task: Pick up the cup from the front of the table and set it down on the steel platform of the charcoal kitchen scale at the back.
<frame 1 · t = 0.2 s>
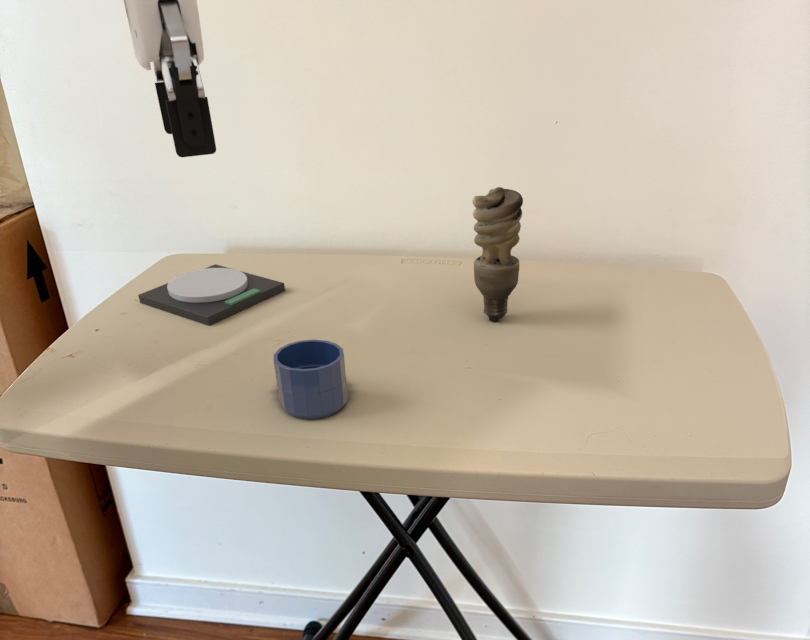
hand: (189, 142, 65), 24 cm above the table, tool pointing down, fingers open, 9 cm apart
scale: (215, 307, 98), on the table
light bulb: (492, 320, 92), on the table
cup: (314, 404, 77), on the table
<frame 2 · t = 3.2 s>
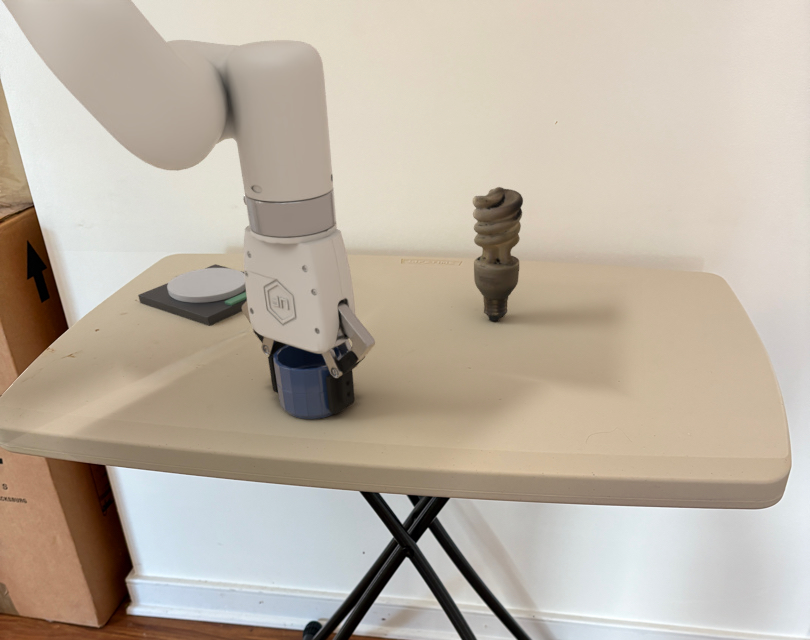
hand: (313, 396, 76), 1 cm above the table, tool pointing down, fingers closed on cup, 6 cm apart
cup: (314, 404, 77), on the table, touching gripper
everything else where it was.
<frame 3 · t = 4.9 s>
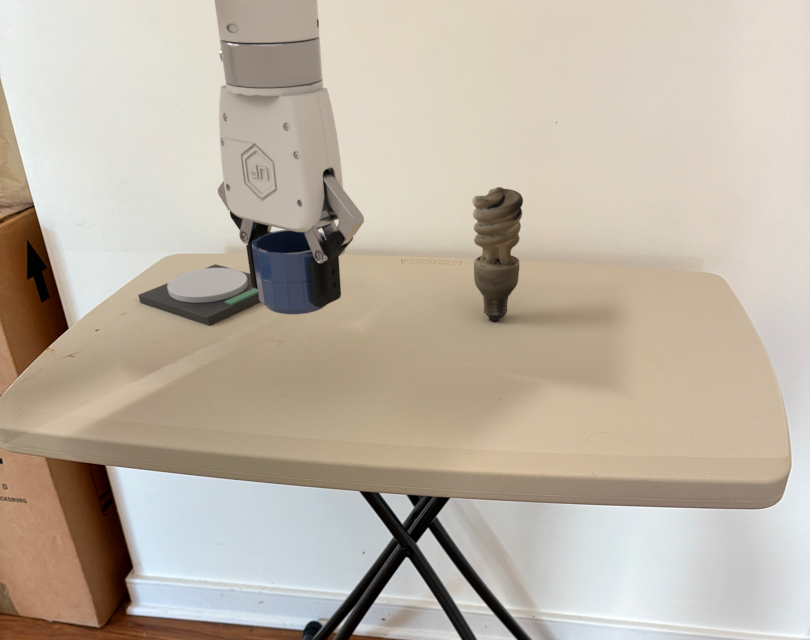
hand: (296, 291, 70), 12 cm above the table, tool pointing down, fingers closed on cup, 6 cm apart
cup: (297, 302, 70), point 11 cm above the table, touching gripper
everything else where it was.
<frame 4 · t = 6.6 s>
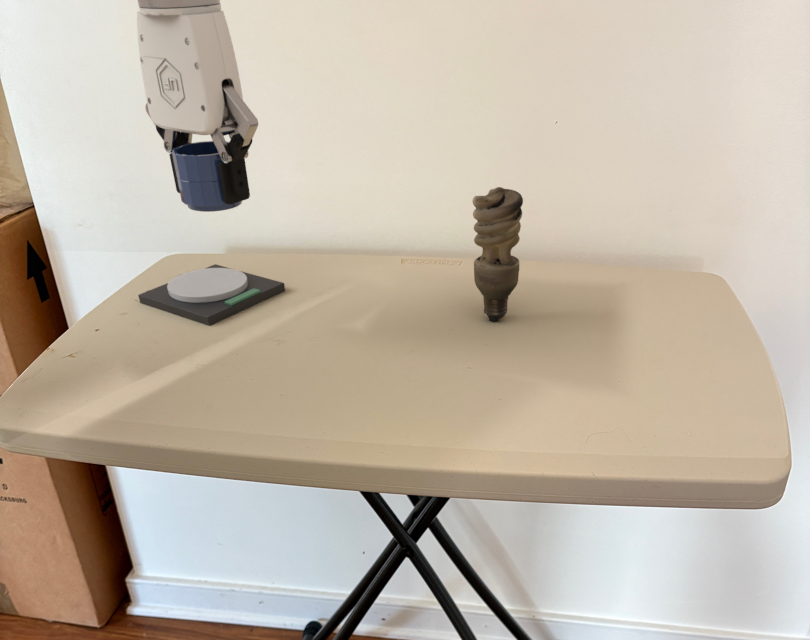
hand: (213, 194, 82), 16 cm above the table, tool pointing down, fingers closed on cup, 6 cm apart
cup: (215, 203, 82), point 15 cm above the table, touching gripper
everything else where it was.
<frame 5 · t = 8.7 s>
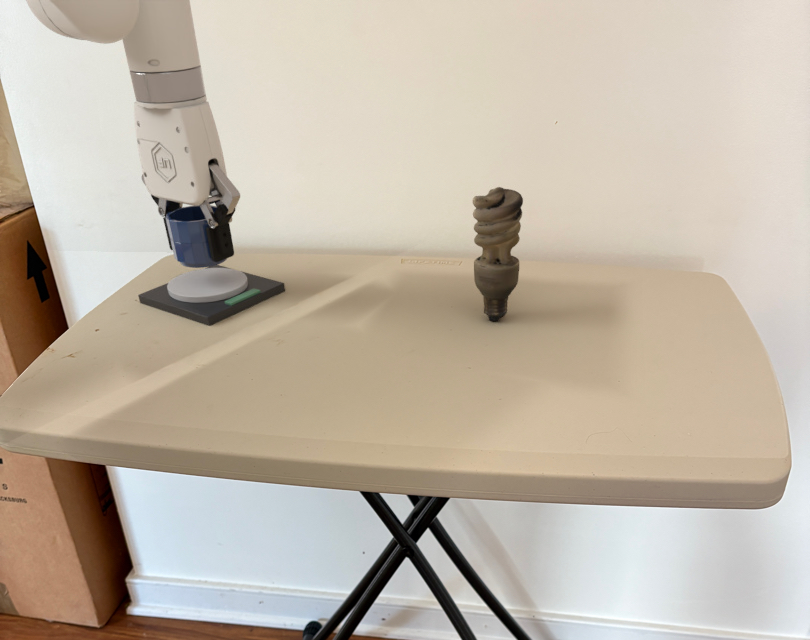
hand: (202, 251, 94), 7 cm above the table, tool pointing down, fingers closed on cup, 6 cm apart
cup: (203, 259, 94), point 6 cm above the table, touching gripper
everything else where it was.
when the fingers open (4 cm above the table, at t = 10.1 s): cup stays where it is, resting on scale.
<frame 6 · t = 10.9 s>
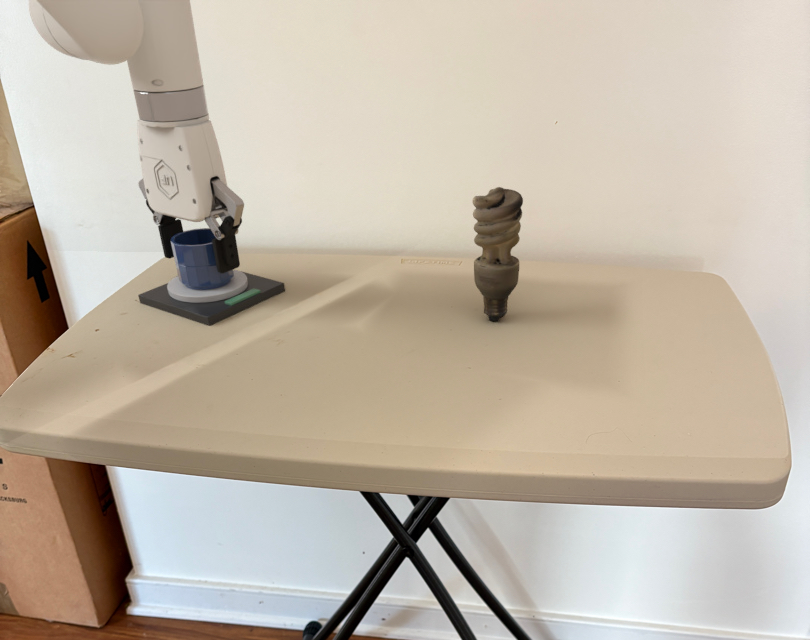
hand: (202, 262, 94), 6 cm above the table, tool pointing down, fingers open, 9 cm apart
cup: (207, 281, 96), point 3 cm above the table, touching scale
everything else where it was.
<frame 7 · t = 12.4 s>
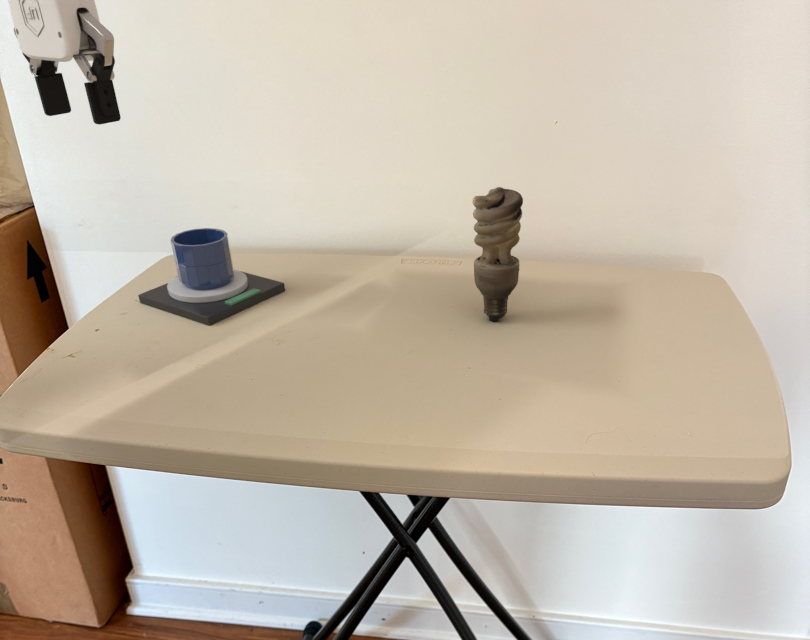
hand: (82, 118, 87), 21 cm above the table, tool pointing down, fingers open, 9 cm apart
nothing on the table moved.
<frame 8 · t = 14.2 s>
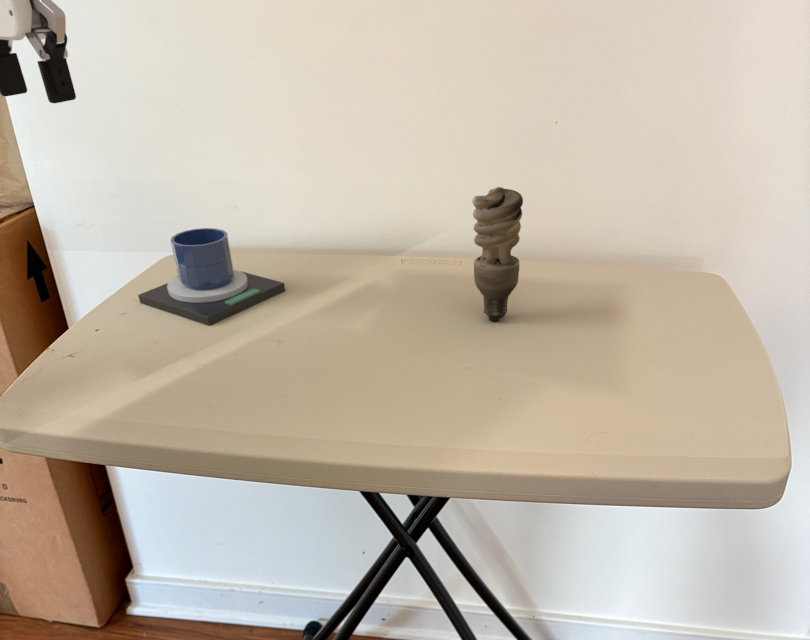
hand: (38, 97, 87), 23 cm above the table, tool pointing down, fingers open, 9 cm apart
nothing on the table moved.
at the end: cup 0.1 cm off-centre on the scale, point 3.2 cm above the scale's base; cup tilted 0°; the gripper is holding nothing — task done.
